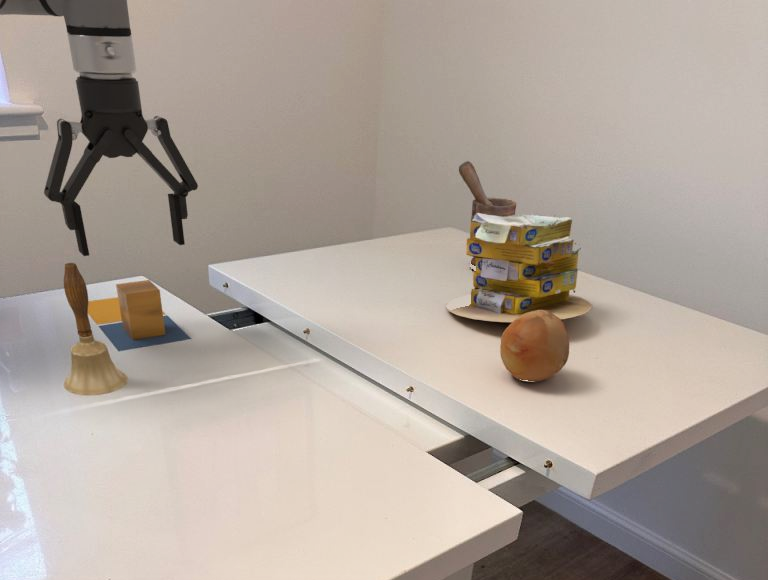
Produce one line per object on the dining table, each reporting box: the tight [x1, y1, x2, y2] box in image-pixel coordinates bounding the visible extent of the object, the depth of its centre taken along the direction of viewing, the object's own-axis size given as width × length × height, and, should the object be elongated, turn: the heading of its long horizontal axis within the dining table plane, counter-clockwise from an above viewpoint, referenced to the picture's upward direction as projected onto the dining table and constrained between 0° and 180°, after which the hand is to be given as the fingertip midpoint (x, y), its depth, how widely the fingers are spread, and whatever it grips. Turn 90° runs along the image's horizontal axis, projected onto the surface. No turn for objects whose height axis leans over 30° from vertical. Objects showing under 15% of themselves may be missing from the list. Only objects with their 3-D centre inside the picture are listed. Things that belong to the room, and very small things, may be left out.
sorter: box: [88, 296, 192, 352], centre depth 114 cm, size 23×11×1 cm, turn 33°
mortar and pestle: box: [458, 160, 517, 266], centre depth 142 cm, size 12×9×20 cm
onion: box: [499, 310, 570, 382], centre depth 102 cm, size 10×10×10 cm
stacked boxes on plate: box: [447, 211, 593, 323], centre depth 122 cm, size 25×25×17 cm
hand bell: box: [63, 262, 129, 396], centre depth 91 cm, size 8×8×16 cm
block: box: [115, 279, 165, 340], centre depth 108 cm, size 5×5×7 cm
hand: (133, 248), depth 103 cm, fingers open, 13 cm apart
